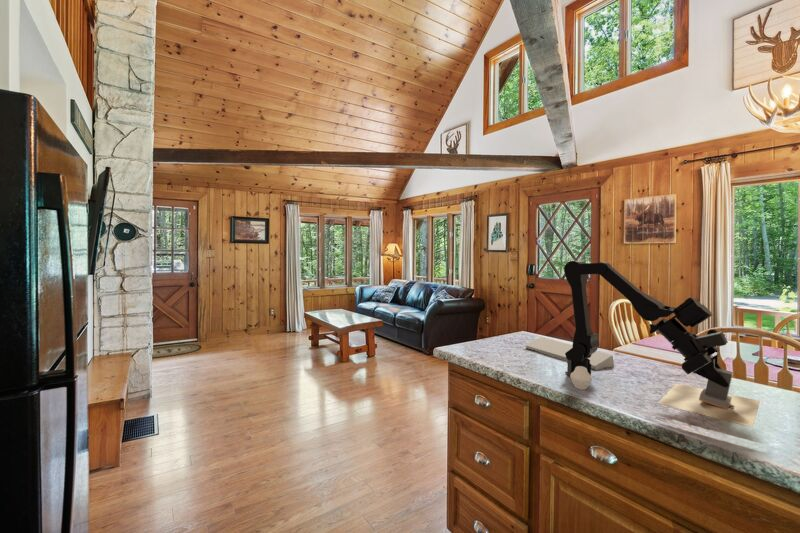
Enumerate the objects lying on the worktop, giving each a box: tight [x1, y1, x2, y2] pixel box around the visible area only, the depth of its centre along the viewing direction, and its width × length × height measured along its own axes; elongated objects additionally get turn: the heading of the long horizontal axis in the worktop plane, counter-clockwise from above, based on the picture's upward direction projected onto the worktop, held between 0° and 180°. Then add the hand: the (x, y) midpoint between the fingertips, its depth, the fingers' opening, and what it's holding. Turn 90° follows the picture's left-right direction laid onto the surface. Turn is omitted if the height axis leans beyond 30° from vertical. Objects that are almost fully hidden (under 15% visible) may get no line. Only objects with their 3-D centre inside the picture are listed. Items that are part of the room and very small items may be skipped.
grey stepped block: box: [699, 367, 734, 410], centre depth 103 cm, size 6×6×9 cm
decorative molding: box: [524, 336, 615, 371], centre depth 154 cm, size 34×5×10 cm
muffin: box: [569, 366, 593, 391], centre depth 119 cm, size 6×6×7 cm
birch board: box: [657, 383, 760, 428], centre depth 104 cm, size 20×24×2 cm
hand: (728, 385), depth 101 cm, fingers closed on grey stepped block, 3 cm apart
